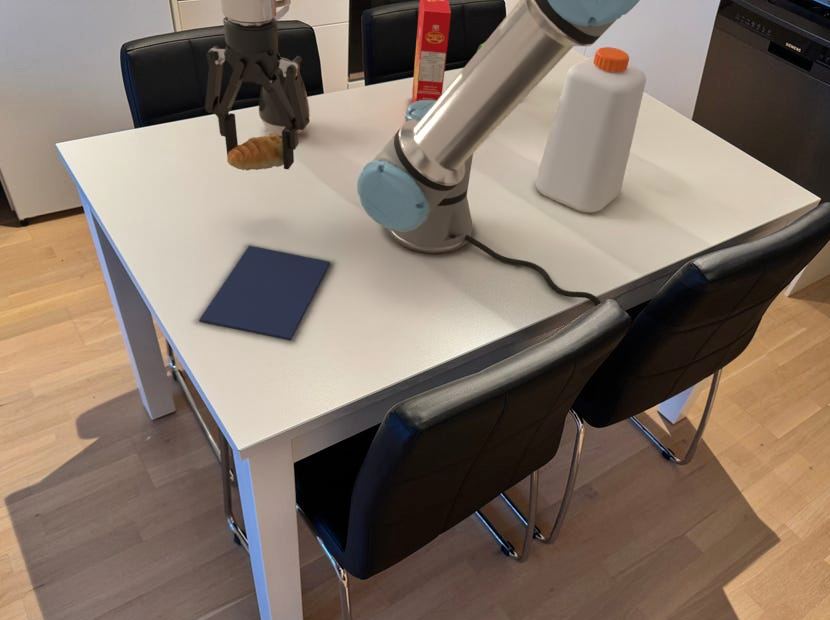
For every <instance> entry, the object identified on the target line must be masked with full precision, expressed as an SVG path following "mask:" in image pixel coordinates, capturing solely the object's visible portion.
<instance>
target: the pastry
mask: <svg viewBox="0 0 830 620" xmlns="http://www.w3.org/2000/svg"><path fill="white" fill-rule="evenodd" d="M226 159H227V160H226V161H227V164H228V165H230V166H231V167H233V168H236V169H238V170H241V171H250V170H255V171H259V170H267V169H272V168H274V167H276V168H278V167H281V166H284V163H283V144H282V138H281V136H278V135H275V134H273V133H269V134H268V135H263V136H256V137H255V136H253V137H250V138H249V139H248V140H247V141H245V142H243V143H242V144H238V146H237V147H235V148H233V149H232V150H231V151H229V153H228V158H227V157H226Z"/></svg>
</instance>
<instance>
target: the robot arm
mask: <svg viewBox="0 0 830 620" xmlns="http://www.w3.org/2000/svg"><path fill="white" fill-rule="evenodd" d="M640 1H641V0H519V1H518V2H517V3H516V4H515V5H514V7H513V8H512V9H511V10H510V11H509V13H508V14H507V15H506V16H505V17H504V18H503V20H502V21H501V22H500V23H499V24H498V26H497V27H496V29H495V30H493V32H492V33H491V34H490V36H488V38H487V39H486V41H484V42H483V43H484V44H483V43H482V44H483V45H482V47H481V48H480V49H479V50H478V49H477V50H478V51H477V50H476V52H475V54H474V55H473V56H472V57H471V59H470V60H469V61H468V62H467V63H466V64H465V66H464V67H462V68H463V69H462V70H460V71H459V73H458V74H457V76H456V77H455V78H454V79H453V80H452V81H451V83H450V84H449V85H448V86H447V87H446V88H445V90H444V91H442V95H441V96H440V97H439V98H438V100H437V101H436V100H422V101H417V102H414V103H412V102H411V103H410V104H409V105H408V106H407V108H406V111H405V115H404V120H405V122H403V124H402V125H401V126H400V128H399V129H398V130H397V131H396V132H395V133H394V135H393V136H392V138H390V140H389V141H388V142H387V143H386V144H385V145H384V147H383V149H382V150H381V151H380V152H379V153H378V154H377V155H376V156H375V158H374V159H373V160H372V161H369V162H368V163H366V165H364V167H363V169H362V171H361V173H360V174H359V176H358V178H357V184H356V191H357V195H358V197H359V202H360V204H361V206H362V208H363V209H364V211H365V212H366V214H367V215H368V216H369V217H370V218H371V219H372V220H373V221H374V222H375V223H377V224H378V225H379V226H381V227H382V228H384V229H386V230H387V231H388V234H389V235H390V237H391V238H392V239H393V240H394V241H395V242H396V243H398V244H399V245H401V246H403V247H404V248H407V249H409V250H411V251H412V250H413V251H415V252H419V253H424V254H434V255H435V254H437V255H438V254H446V253H451V252H455V251H457V250H461V249H462V248H463V247H465V246H466V245H467V244H468V243H469V244H472V245H473V246H474V247H476V248H478V249H479V250H481V251H483V252H484V253H486V254H487V255H489V256H490V257H491V258H493V259H495V260H496V261H499V262H502V263H505V264H507V265H512V266H513V265H514V266H520V267H524V268H529V269H531V270H534V271H536V272H537V273H538V274H540V276H542V278H543V279H544V281H545V282H546V284H547V286H548V287H549V288H550V289H551V290H552V291H553V292H554V293H556V294H558V295H560V296H563V297H567V298H578V299H579V298H580V299H582V298H583V299H587V300H589V301H591V302H592V303H593V304H594V306H596V305H598V304H600V303H602V302H601V300H600V299H599V298H598V297H597V296H596V295H594V294H592V293H590V292H587V291H572V290H571V291H570V290H566V289H563V288H561V287H559V286H558V285H557V284H555V282H554V281H553V279H552V277H550V275H549V274H548V272H547V270H545V269H544V268H543V267H541V266H540V265H539V264H536V263H535V262H532V261H529V260H523V259H516V258H511V257H507V256H504V255H501V254H500V253H498V252H496V251H494V250H493V249H492V248H490V247H488V246H487V245H485V244H484V243H483V242H481V241H480V240H477V239H475V238H474V237H472V232H473V220H472V213H471V211H470V205H469V200H468V189H469V183H470V177H471V170H472V164H473V157H474V153H475V151H477V149H478V148H480V147H481V145H482V144H483V143H484V142H485V141H486V140H487V139H488V138H489V137H490V136H491V134H492V133H493V132H495V130H496V129H497V128H498V127H499V126H501V124H502V123H503V122H504V121H505V120H506V119H507V118H508V117H509V115H511V114H512V112H513V111H515V109H516V108H517V107H518V106H519V105H520V104H521V103H522V102H523V101H524V100H525V99H526V98H527V97H528V96H529V95H530V93H532V91H533V90H534V89H535V88H536V87H537V86H538V85H539V84H540V83H541V82H542V81H543V79H544V78H545V77H546V76H547V75H548V74H549V73H550V72H551V71H552V70H553V69H554V68H555V67H556V66H557V65H558V63H560V62H561V60H562V59H564V58H565V57H566V55H567V54H568V53H570V51H571V50H572V49H573V48H574V47H591V46H592V45H594V44H595V43H596V42H597V41H598V40H599V39H600V38H601V37H602V36H603V35H604V33H606V32H607V30H609V28H610V27H612V25H613V24H614V23H615V22H617V20H619V19H621V17H622V16H625V15H626V14H628V13H630V11H632V10H633V9H634V8H635V6H637V4H638V3H639V2H640ZM220 2H221V3H220V4H221V13H222V15H223V16H224V18H223V19H222V22H223V32H224V41H225V45H226V46H225V48H220V47H219V46H217V45H214V46H213V47H212V48H210V49H209V50H208V51H207V52H206V53H205V54H206V55H205V56H206V60H207V64H208V73H207V74H208V75H207V81H206V93H205V101H204V102H205V103H204V110H205V112H206V113H208V114H211V113H212V114H213V115H215V116H216V117H217V121H218V129H219V134H220V136H221V137H224V138H225V139H224V140H225V147H226V159H227V158H228V153H229V151H231V150H232V149H233V148H235V147H237V146H238V145H239V144H238V142H239V141H238V131H237V124H236V122H237V121H236V114H235V113H230V111H232V107H233V105H234V102H235V100H236V98H237V96H238V93H239V91H240V89H241V86H242V84H243V82H244V83H255V84H256V85H261V86H262V85H263V87H264V89H265V91H266V92H268V93H269V95H270V97H271V99H272V101H273V103H274V105H275V107H276V109H277V111H278V113H279V115H280V117H281V119H282V121H283V123H284V125H285V128H284V129H283V131H282V137H281V140H282V144H283V163H284V164H283V169H284V170H288V171H289V170H290V168H291V167H292V166H293V164H294V163H295V155H294V153H295V152H294V151H295V150H296V148H298V146H299V143H300V142H299V134H298V130H299V129H300V130H303V131H304V130H305V129H306V127H307V126H308V125H309V124H310V122H311V121H310V117H309V115H308V111H307V107H306V103H305V99H304V95H303V91H302V87H301V83H300V79H299V73H300V69H301V62H300V63H299V62H298V61H296V60H295V61H293V60H292V61H293V62H289V61H286V60H282V59H281V58H282V57H281V55H280V52H279V32H278V21H277V19H276V16H277V0H220ZM225 61H226V62H227V63H228V64H229V65H230V67H231V69H232V70H233V71H232V73H231V76H230V78H229V82H228V85H227V87H226V89H225V92H224V94H223V96H222V99H221V102H220V96H221V95H220V94H221V88H222V78H223V69H224V63H225ZM278 68H280V69H281V70H282V71H283V76H284V77H286V84H287V88H288V92H289V96H290V100H291V104H292V107H291V105H290V103H289V101H288V99H287V97H286V95H285V93H284V91H283V89H282V87H281V85H280V79H279V77H278V75H277V73H276V71H277V70H278ZM292 108H293V109H292Z"/></svg>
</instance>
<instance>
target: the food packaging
mask: <svg viewBox="0 0 830 620" xmlns="http://www.w3.org/2000/svg"><path fill="white" fill-rule="evenodd" d="M451 16H452V11H451V7H450V3H449V0H419V7H418V18H417V31H416V43H415V55H414V66H413V67H414V68H413V78H412V79H413V80H412V91H411V104H412V103H414V102H417V101H422V100H436V101H437V100H438V98H439V97H440V96H441V95H442V94H443V88H444V80H445V70H446V63H447V62H446V61H447V51H448V44H449V34H450V27H451V26H450V25H451Z"/></svg>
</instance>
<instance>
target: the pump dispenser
mask: <svg viewBox="0 0 830 620" xmlns="http://www.w3.org/2000/svg"><path fill="white" fill-rule="evenodd" d="M281 59H282V60H286V61H289V62H293V61H295V60H296V61H298V62H299V63H300V64H301V62H302V60H303V59H302V57H301V56H300V55H297V56H296V57H295V58H294V59H293V60H290V59H288V58H286V57H281ZM276 73H277V75H278V77H279V79H280V85H281V87H282V89H283V91H284V93H285V95H286V97H287V99H288V101H289V103H290V105H291V107H292V104H291V100H290V96H289V92H288V88H287V84H286V77H284V76H283V71H282V70H281V69H280V68H278V70H277V71H276ZM299 79H300V83H301V87H302V91H303V95H304V99H305V103H306V107H307V111H308V115H309V118H310V116H311V114H310V113H311V112H310V111H311V110H310V106H309V105H310V104H309V99H308V94H307V90H306V87H305V84H304V81H303V78H302V76H301V73H300V72H299ZM292 109H293V108H292ZM258 115H259V118H260V119H261V122H262V125H263V126H264V127H265V129H266V130H267V131H268V132H269V133H270V134H274V135H278V136H279V137H280V138H282V131H283V129H284V128H285V125H284V123H283V121H282V119H281V117H280V115H279V113H278V111H277V109H276V107H275V105H274V103H273V101H272V99H271V97H270V95H269V93H268V92H266V91H265V89H264V87H263V85H261V88H260V93H259V101H258ZM303 131H304V130H300V129H299V130H298V135H299V134H301V133H302V132H303Z"/></svg>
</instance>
